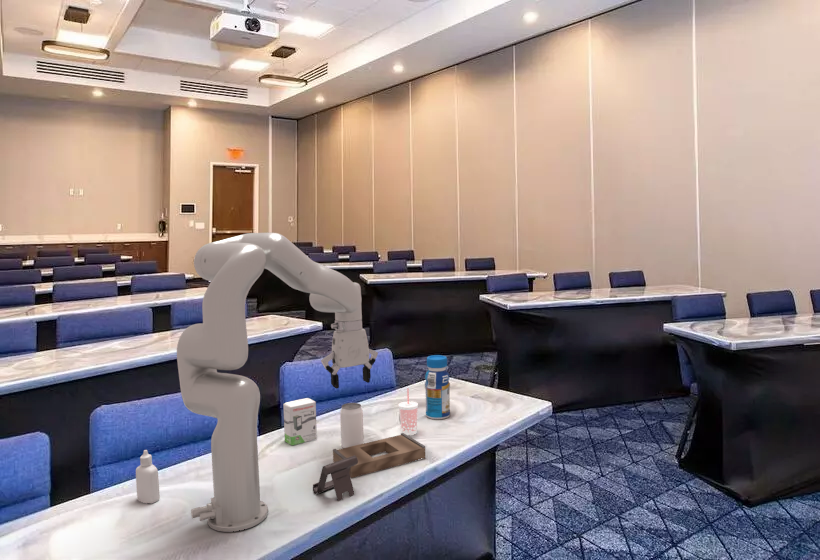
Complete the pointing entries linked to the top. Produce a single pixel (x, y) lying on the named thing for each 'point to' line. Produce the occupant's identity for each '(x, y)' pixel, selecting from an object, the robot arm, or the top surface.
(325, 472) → the portable electronic device stand
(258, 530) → the top surface
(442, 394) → the beverage bottle
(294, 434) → the ink box
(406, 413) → the beverage cup
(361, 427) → the can
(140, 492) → the eye dropper bottle
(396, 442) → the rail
